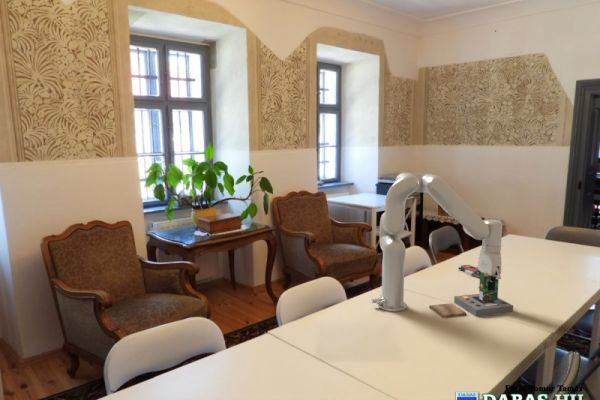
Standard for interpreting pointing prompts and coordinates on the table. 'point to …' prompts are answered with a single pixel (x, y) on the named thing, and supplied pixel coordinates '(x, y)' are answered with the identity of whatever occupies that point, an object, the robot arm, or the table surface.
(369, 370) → the table surface
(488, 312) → the toy stove front
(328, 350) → the table surface
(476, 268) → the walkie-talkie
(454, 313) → the walnut pad
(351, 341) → the table surface
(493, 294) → the coffee box
